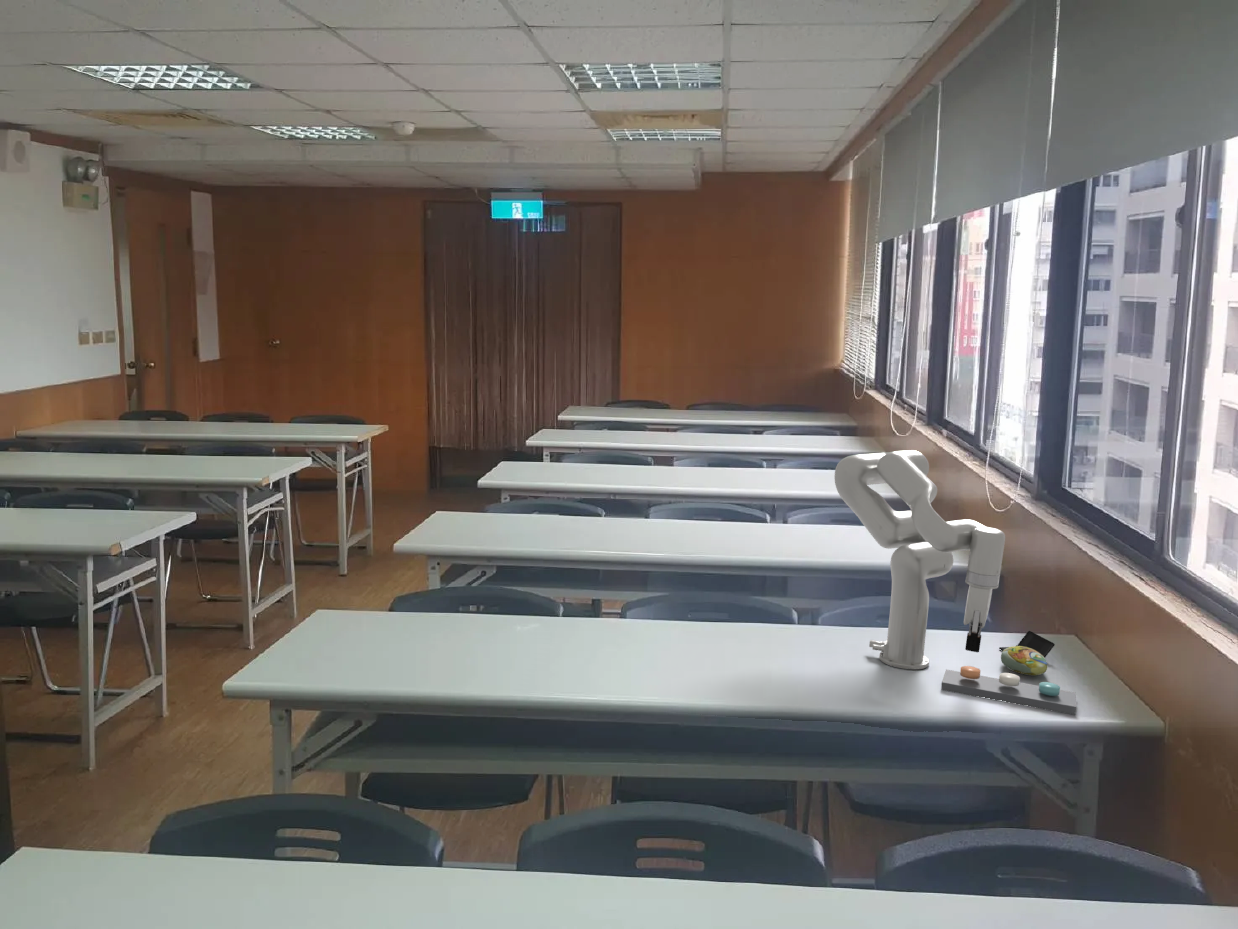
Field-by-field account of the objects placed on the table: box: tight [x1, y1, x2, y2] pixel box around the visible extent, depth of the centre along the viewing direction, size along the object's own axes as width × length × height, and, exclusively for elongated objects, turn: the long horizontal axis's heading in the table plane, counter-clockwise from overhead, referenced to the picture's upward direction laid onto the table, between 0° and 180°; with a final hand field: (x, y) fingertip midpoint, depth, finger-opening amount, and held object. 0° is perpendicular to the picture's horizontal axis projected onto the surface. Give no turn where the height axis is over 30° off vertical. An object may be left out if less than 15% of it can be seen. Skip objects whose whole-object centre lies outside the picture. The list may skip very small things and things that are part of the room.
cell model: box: [1000, 645, 1048, 676], centre depth 262 cm, size 11×8×15 cm
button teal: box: [1038, 681, 1061, 696], centre depth 241 cm, size 5×5×2 cm
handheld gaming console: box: [998, 630, 1056, 659], centre depth 274 cm, size 12×7×10 cm
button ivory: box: [998, 672, 1021, 686], centre depth 244 cm, size 5×5×2 cm
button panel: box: [940, 668, 1077, 716], centre depth 245 cm, size 30×10×2 cm, turn 67°
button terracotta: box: [959, 665, 981, 679], centre depth 248 cm, size 5×5×2 cm
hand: (972, 650), depth 248 cm, fingers closed
